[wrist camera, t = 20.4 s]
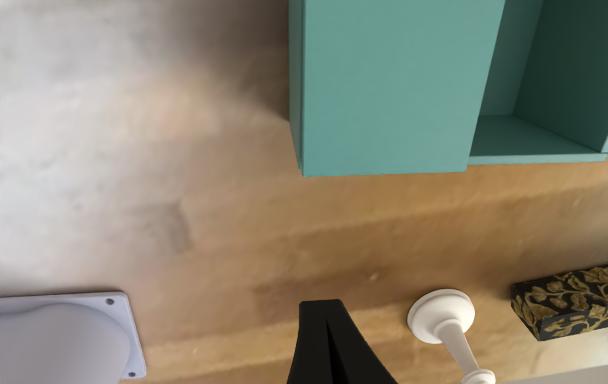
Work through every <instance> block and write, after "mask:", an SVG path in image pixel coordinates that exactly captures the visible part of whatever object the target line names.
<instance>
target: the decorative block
mask: <svg viewBox="0 0 608 384" xmlns="http://www.w3.org/2000/svg"><path fill="white" fill-rule="evenodd" d="M511 307H512V309H513V310H514V312H515V313H516V314H517V316H518V317H519V318H520V319H521V321H522V322H523V323H524V324H525V326H526V327H527V328H528V329H529V331H530V332H531V333H532V334H533V336H534V337H535V338H536V339H537V340H538V341H546V340H551V339H555V338H560V337H565V336H570V335H575V334H581V333H585V332H590V331H592V330H597V329H602V328H606V327H608V266H604V267H600V268H599V267H595V268H594V269H591V270H590V271H579V272H575V273H572V272H571V273H568V274H565V275H564V276H563V277H558V276H555V275H554V277H552V278H547V279H542V280H538V281H533V282H524V283H523V284H518V285H514V286H513V287H512V298H511Z"/></svg>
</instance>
